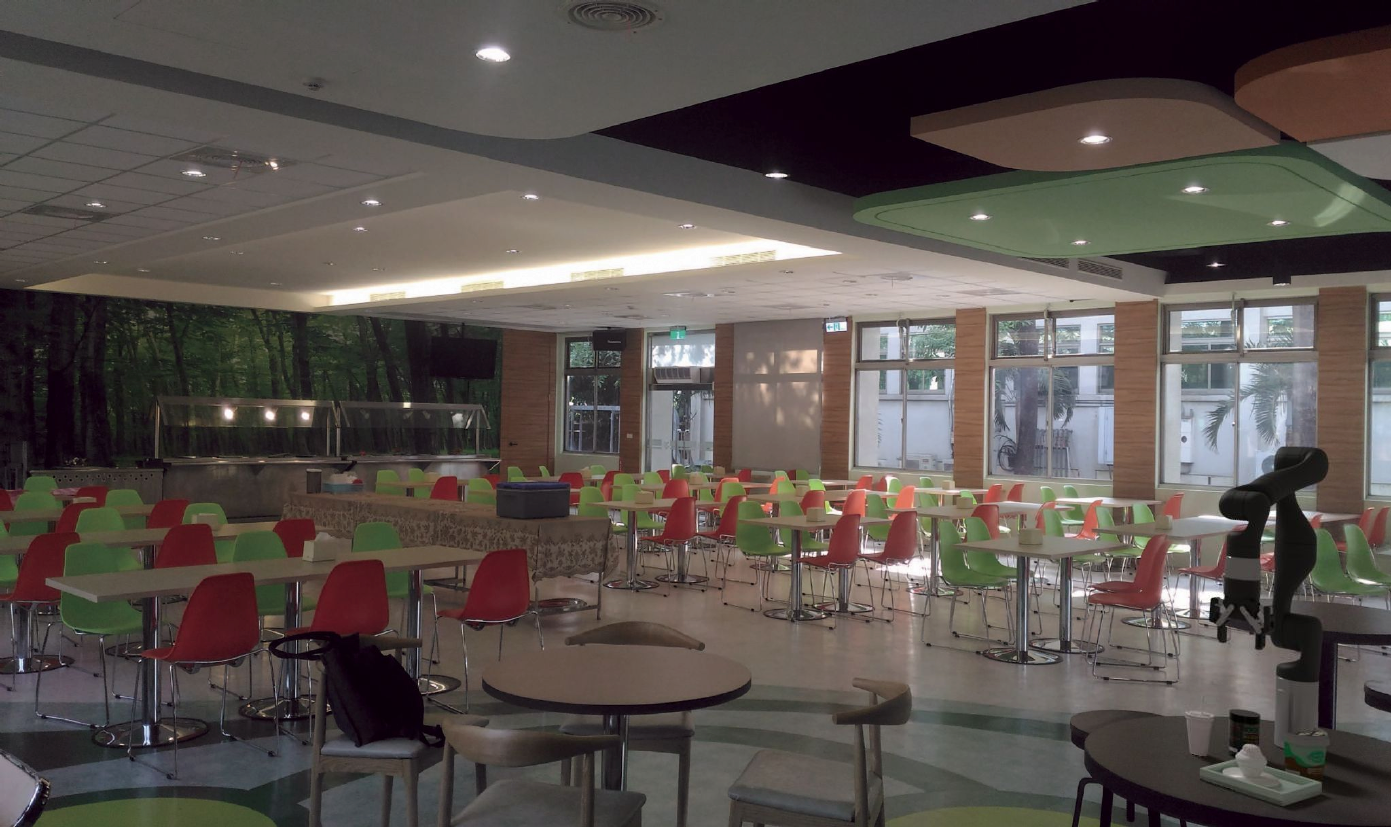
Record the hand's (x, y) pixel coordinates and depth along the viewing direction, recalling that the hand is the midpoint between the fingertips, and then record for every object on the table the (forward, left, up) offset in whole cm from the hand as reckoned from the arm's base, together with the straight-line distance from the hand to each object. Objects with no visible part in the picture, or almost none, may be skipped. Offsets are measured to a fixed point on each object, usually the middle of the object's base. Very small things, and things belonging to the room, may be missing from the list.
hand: (1240, 646), depth 236 cm
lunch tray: (+9, +10, -28) cm, 31 cm away
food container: (-9, +12, -28) cm, 32 cm away
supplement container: (-10, -4, -28) cm, 30 cm away
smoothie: (-1, -10, -28) cm, 30 cm away
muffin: (+9, +8, -26) cm, 29 cm away
